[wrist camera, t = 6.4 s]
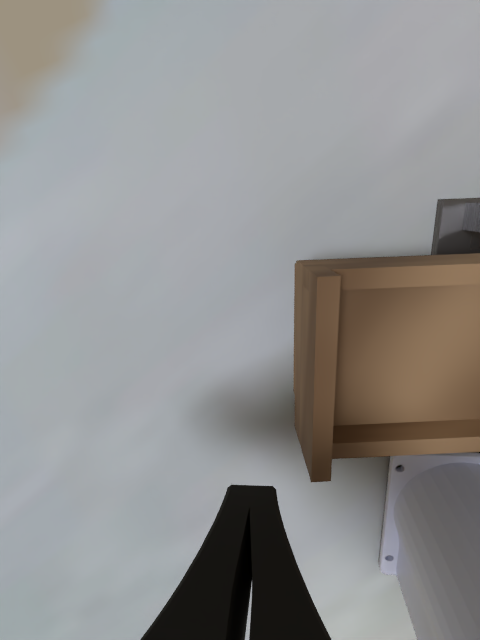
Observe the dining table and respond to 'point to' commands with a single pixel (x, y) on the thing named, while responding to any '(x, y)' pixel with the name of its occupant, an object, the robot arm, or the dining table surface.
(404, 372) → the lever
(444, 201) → the stand
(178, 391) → the dining table surface
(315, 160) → the dining table surface
